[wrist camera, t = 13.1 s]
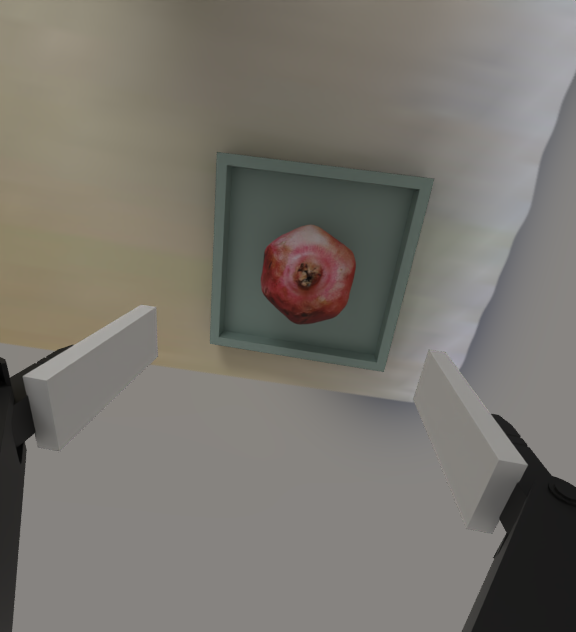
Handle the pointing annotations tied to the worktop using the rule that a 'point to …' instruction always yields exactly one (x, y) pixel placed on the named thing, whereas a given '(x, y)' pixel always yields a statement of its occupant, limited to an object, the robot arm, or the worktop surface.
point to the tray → (337, 220)
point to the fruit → (308, 275)
